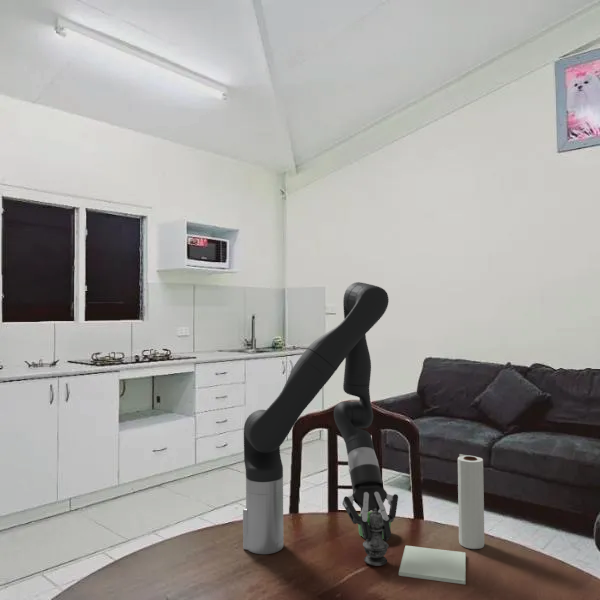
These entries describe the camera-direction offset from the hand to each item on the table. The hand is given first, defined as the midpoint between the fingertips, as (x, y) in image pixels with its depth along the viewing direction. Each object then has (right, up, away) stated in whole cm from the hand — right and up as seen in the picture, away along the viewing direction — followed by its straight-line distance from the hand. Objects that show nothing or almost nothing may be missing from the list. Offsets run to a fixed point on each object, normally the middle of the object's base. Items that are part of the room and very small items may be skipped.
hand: (378, 539), depth 122 cm
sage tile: (+13, -6, 0) cm, 14 cm away
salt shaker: (0, -6, +2) cm, 6 cm away
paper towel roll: (+25, -6, +12) cm, 28 cm away
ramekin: (+2, -7, +18) cm, 19 cm away
